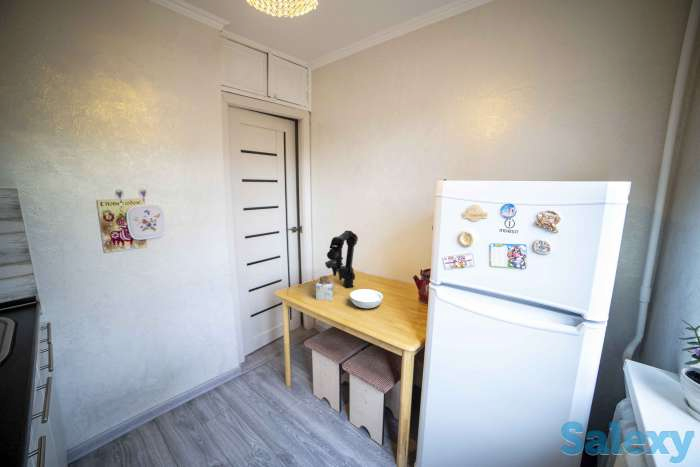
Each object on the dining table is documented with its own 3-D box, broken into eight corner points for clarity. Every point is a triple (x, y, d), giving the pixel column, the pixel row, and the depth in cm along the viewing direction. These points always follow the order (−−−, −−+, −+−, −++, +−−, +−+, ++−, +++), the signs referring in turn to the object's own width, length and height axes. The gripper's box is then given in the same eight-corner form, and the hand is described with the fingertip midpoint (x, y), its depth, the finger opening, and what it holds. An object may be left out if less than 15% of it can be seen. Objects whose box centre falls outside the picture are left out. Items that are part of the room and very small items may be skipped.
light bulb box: (333, 296, 188) (333, 281, 186) (331, 300, 181) (331, 285, 180) (317, 295, 189) (317, 280, 187) (315, 299, 182) (315, 284, 181)
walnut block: (326, 281, 187) (326, 275, 186) (329, 283, 182) (329, 277, 182) (319, 282, 184) (319, 276, 184) (322, 284, 180) (322, 279, 179)
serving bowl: (378, 314, 163) (379, 303, 162) (345, 309, 169) (345, 298, 168) (385, 300, 183) (385, 291, 182) (354, 296, 189) (355, 287, 188)
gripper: (321, 254, 189) (321, 275, 192) (332, 260, 173) (332, 284, 176) (336, 252, 194) (335, 273, 197) (347, 258, 178) (347, 281, 181)
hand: (337, 278), depth 188 cm, fingers open, 9 cm apart
